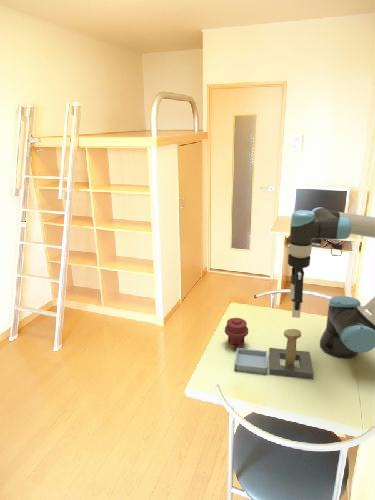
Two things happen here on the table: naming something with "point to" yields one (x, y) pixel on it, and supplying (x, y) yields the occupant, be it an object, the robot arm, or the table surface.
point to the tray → (251, 361)
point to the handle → (291, 345)
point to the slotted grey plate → (290, 371)
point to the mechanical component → (236, 331)
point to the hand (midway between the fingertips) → (294, 308)
